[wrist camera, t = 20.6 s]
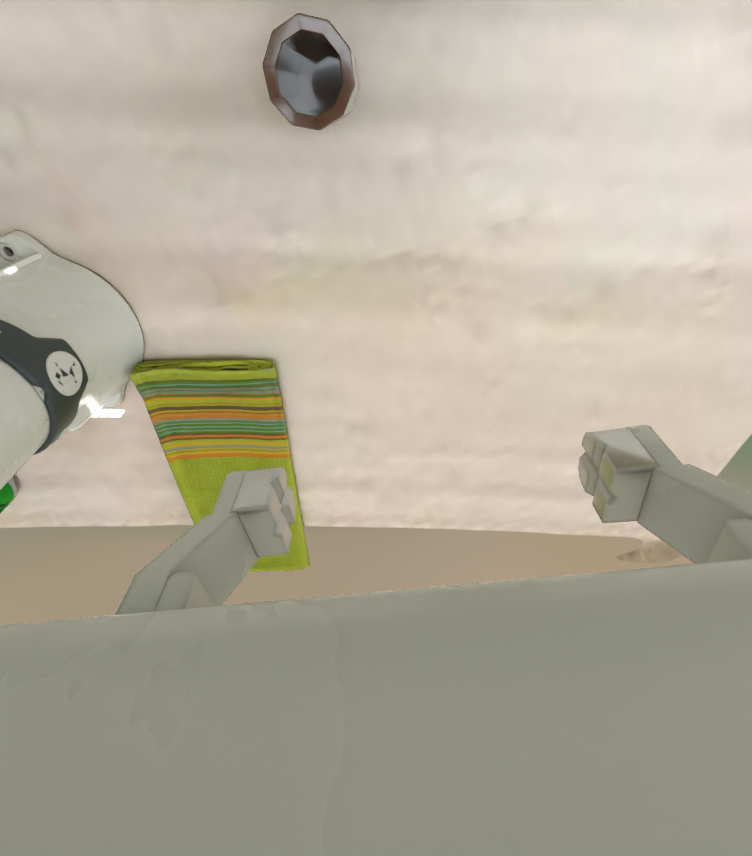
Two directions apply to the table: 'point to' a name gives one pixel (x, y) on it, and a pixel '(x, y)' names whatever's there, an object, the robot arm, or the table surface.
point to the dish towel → (220, 432)
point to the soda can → (7, 494)
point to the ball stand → (310, 72)
